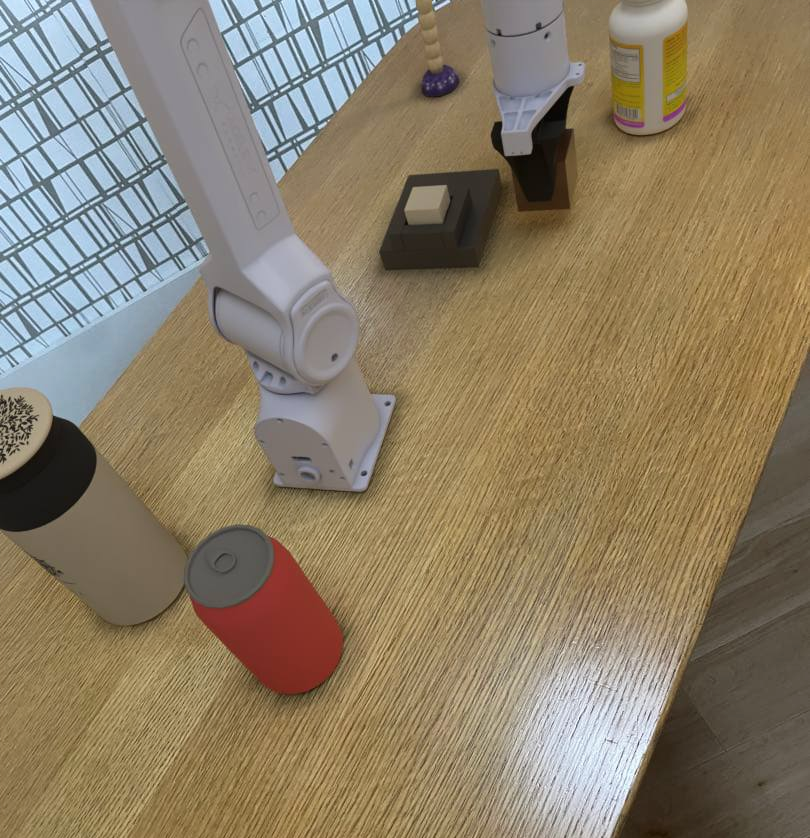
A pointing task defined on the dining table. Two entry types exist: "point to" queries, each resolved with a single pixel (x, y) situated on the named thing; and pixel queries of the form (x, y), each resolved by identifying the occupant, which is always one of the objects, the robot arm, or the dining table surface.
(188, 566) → the beer can
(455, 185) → the button base
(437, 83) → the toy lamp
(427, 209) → the key
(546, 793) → the dining table surface
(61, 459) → the travel mug
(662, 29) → the supplement bottle
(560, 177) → the walnut block
